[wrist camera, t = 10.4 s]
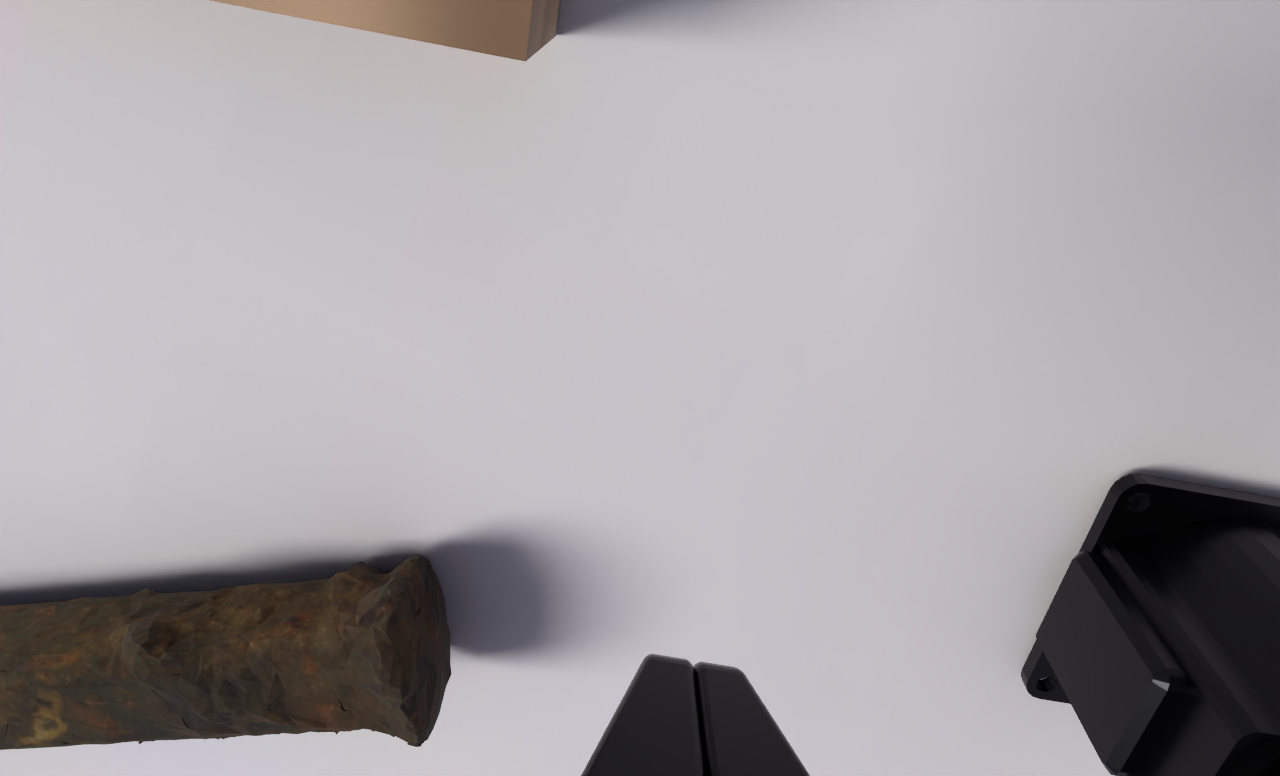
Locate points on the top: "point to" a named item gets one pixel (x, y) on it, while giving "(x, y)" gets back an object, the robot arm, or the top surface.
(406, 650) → the brown wooden log
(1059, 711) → the top surface
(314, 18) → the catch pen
